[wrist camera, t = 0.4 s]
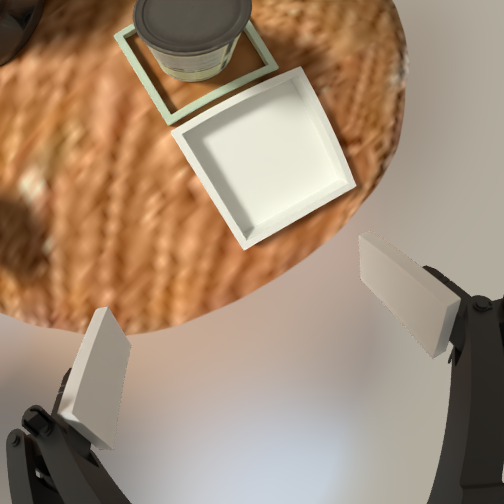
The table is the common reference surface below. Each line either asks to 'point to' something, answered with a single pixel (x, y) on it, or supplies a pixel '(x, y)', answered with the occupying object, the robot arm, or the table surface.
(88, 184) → the table surface
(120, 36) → the frame
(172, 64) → the coffee can
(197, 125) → the bin
